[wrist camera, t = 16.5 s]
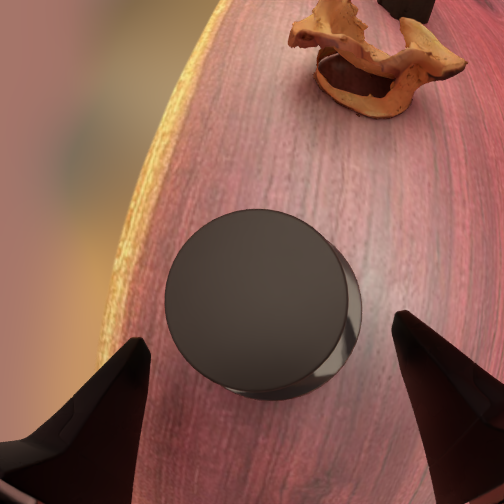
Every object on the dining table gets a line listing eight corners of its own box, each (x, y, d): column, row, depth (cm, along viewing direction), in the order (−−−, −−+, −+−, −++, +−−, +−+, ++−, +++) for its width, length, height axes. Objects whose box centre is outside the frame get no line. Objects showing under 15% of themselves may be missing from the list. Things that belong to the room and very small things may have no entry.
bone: (287, 120, 19) (284, 21, 11) (290, 39, 21) (287, -39, 13) (446, 142, 17) (498, 69, 9) (419, 58, 19) (444, -10, 11)
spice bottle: (337, 329, 14) (397, 339, 6) (249, 376, 14) (208, 435, 6) (290, 244, 15) (295, 163, 7) (205, 289, 15) (124, 255, 7)
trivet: (287, 421, 15) (287, 433, 13) (163, 325, 17) (148, 325, 15) (383, 292, 16) (395, 289, 14) (256, 203, 18) (252, 189, 16)
